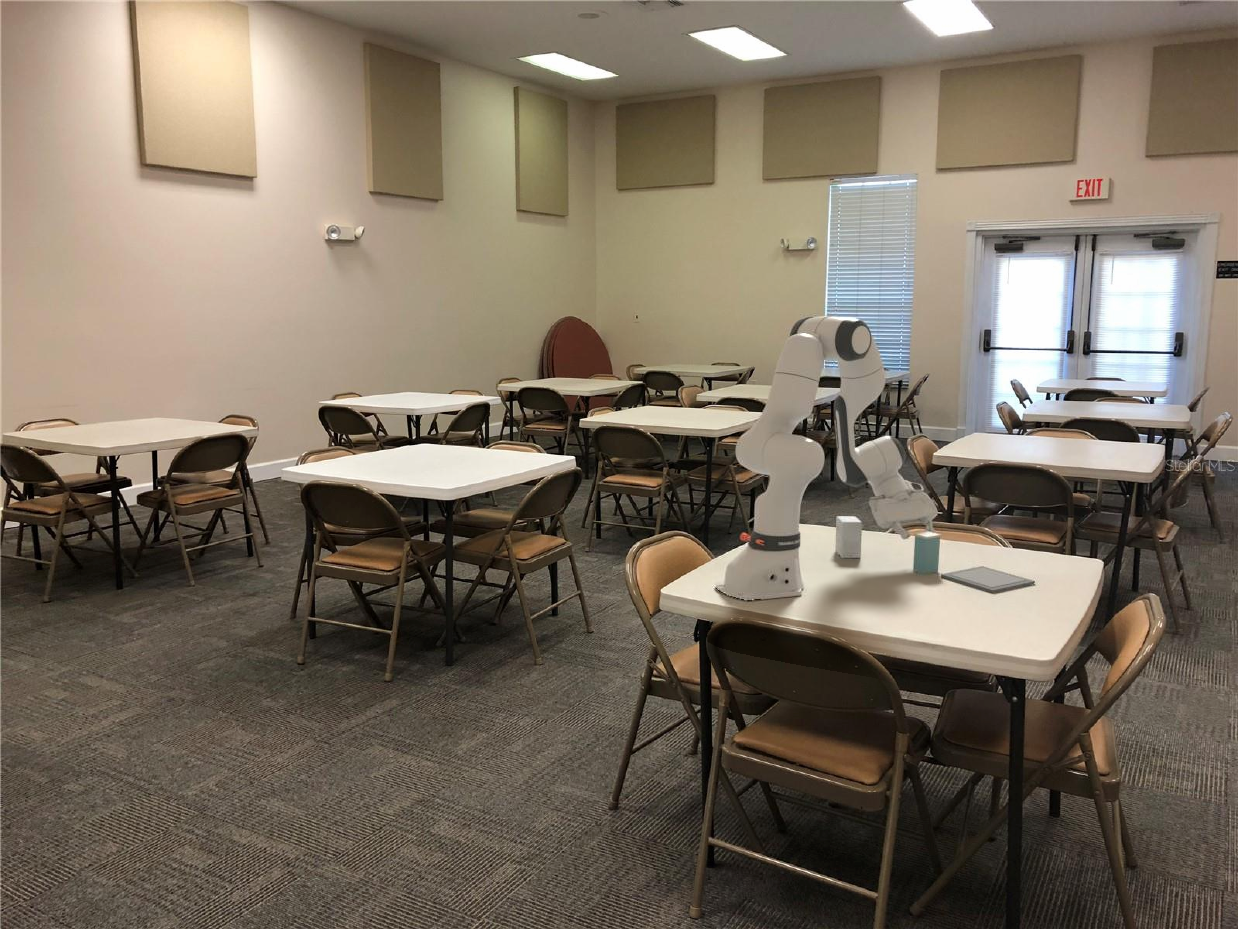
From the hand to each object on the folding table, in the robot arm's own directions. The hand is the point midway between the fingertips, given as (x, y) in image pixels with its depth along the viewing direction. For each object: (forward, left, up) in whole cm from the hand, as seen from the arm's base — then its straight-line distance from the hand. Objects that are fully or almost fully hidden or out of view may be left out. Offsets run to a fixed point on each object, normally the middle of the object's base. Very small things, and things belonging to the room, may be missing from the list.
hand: (919, 535), depth 241 cm
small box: (-6, +20, -9) cm, 23 cm away
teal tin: (0, -3, -9) cm, 10 cm away
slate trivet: (+7, -17, -9) cm, 20 cm away
